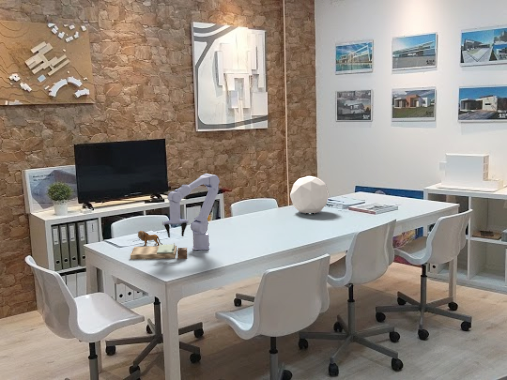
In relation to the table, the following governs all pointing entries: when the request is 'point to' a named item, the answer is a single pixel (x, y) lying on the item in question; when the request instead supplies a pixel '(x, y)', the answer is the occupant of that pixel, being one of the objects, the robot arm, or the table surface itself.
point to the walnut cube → (182, 253)
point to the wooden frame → (150, 253)
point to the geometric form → (309, 194)
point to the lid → (166, 248)
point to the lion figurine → (148, 237)
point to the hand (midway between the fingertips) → (175, 236)
